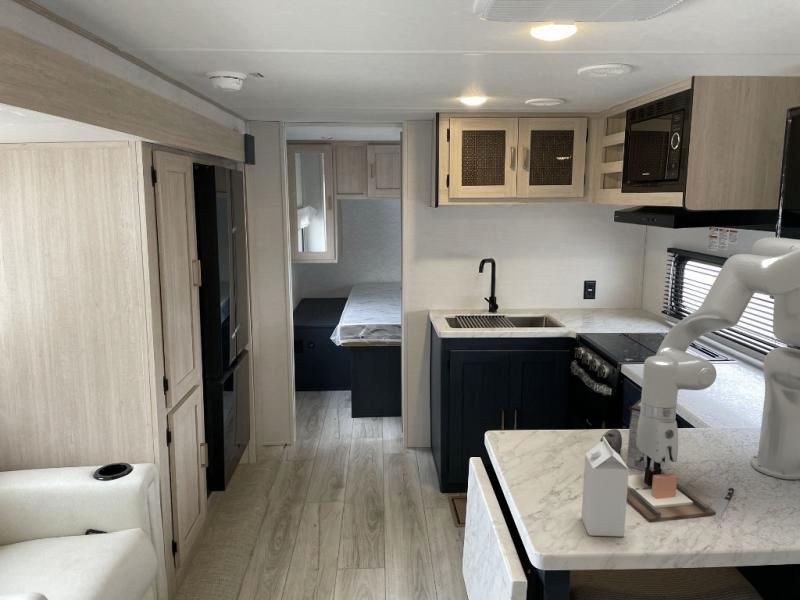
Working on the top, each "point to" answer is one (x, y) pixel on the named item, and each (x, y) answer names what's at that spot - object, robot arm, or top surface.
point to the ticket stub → (665, 492)
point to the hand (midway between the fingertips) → (651, 484)
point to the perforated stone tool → (613, 439)
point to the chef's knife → (721, 505)
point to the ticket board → (665, 512)
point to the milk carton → (604, 491)
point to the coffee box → (634, 440)
